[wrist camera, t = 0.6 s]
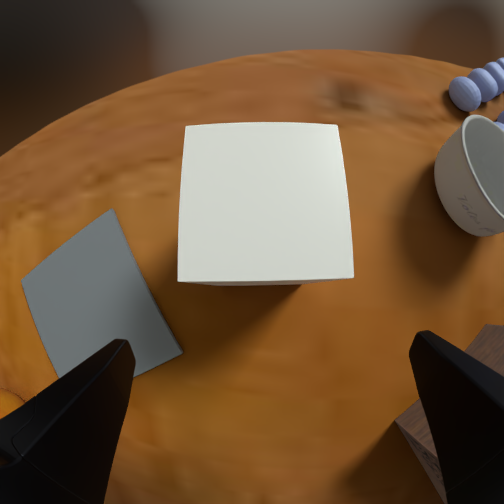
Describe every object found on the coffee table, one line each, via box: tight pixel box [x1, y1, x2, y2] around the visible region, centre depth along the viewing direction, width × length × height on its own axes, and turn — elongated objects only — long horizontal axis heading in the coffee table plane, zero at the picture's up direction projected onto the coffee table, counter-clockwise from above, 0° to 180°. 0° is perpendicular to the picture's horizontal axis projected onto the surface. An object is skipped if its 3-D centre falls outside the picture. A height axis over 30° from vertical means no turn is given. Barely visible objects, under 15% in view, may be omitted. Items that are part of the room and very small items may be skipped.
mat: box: [21, 208, 183, 378], centre depth 21 cm, size 14×14×1 cm
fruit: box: [0, 388, 25, 419], centre depth 16 cm, size 10×10×8 cm
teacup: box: [434, 115, 504, 236], centre depth 19 cm, size 14×11×8 cm
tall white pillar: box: [178, 122, 354, 286], centre depth 16 cm, size 7×7×12 cm
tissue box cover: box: [395, 324, 504, 504], centre depth 14 cm, size 26×14×10 cm, turn 35°
